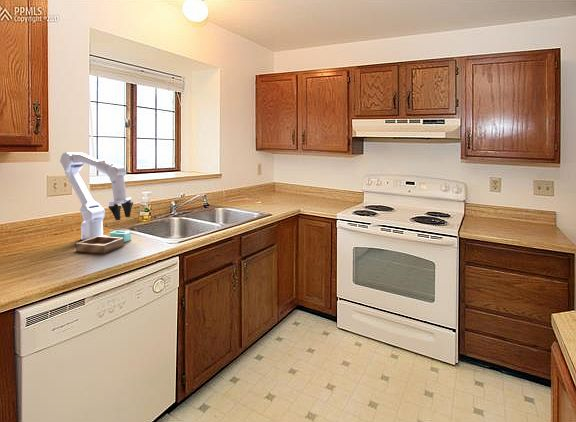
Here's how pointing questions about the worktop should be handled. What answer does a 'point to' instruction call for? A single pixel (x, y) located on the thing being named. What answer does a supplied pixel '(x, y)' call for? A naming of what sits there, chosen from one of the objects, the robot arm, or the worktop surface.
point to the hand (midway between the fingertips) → (123, 218)
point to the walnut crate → (100, 244)
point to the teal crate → (121, 235)
